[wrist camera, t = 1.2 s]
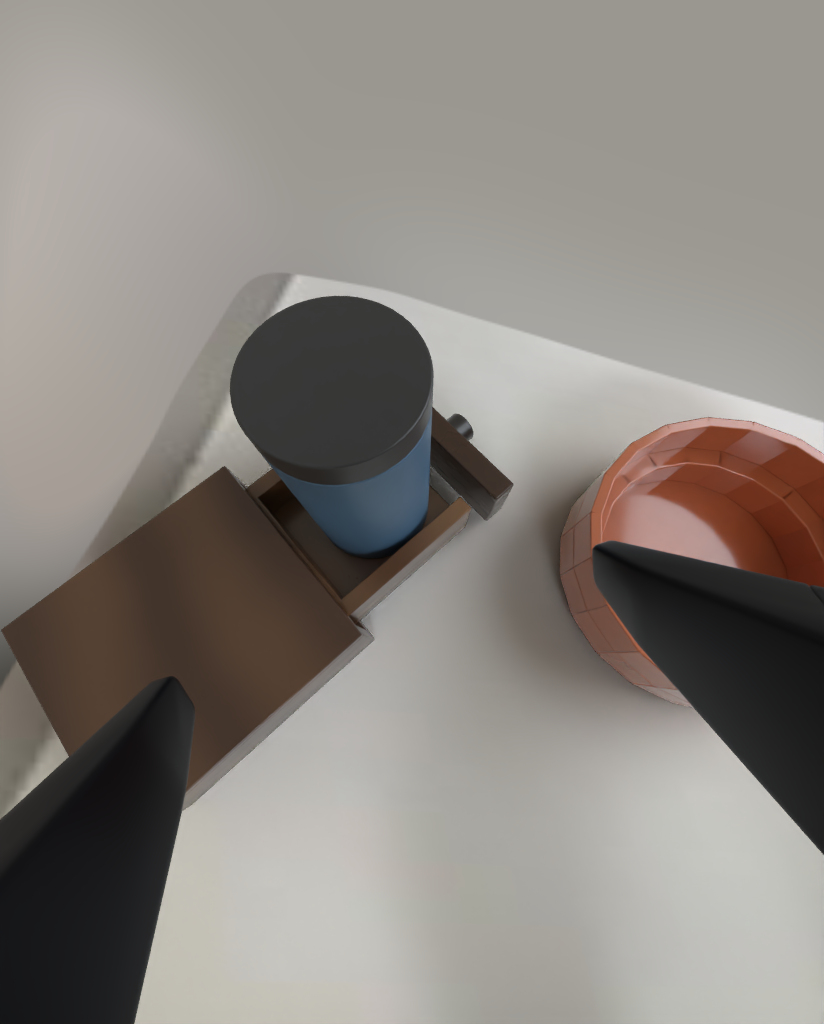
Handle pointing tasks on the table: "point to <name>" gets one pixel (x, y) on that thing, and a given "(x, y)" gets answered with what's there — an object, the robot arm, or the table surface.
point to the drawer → (376, 578)
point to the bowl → (695, 520)
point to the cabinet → (189, 629)
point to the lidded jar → (343, 417)
